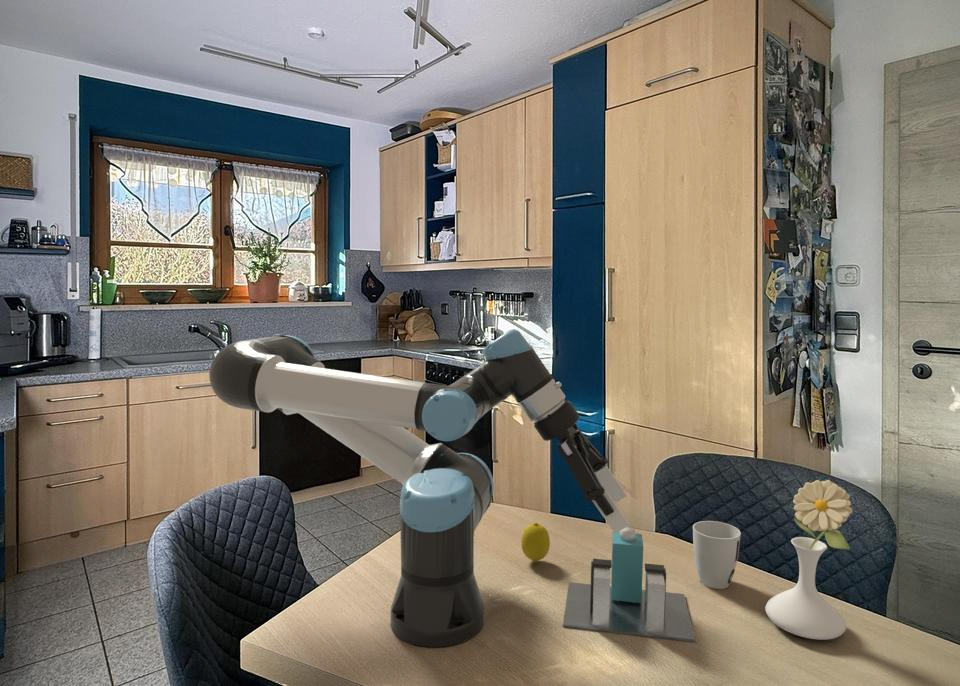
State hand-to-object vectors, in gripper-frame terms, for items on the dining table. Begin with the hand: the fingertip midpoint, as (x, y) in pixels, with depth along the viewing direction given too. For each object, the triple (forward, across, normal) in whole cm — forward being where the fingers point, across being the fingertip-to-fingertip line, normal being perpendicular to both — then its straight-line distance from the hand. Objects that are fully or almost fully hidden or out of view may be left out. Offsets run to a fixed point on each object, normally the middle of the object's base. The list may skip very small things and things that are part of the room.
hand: (621, 513), depth 104 cm
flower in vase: (+30, -3, -14) cm, 33 cm away
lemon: (+3, +11, +22) cm, 25 cm away
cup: (+23, +10, -5) cm, 25 cm away
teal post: (+13, 0, +8) cm, 15 cm away
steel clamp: (+13, -4, +8) cm, 16 cm away
